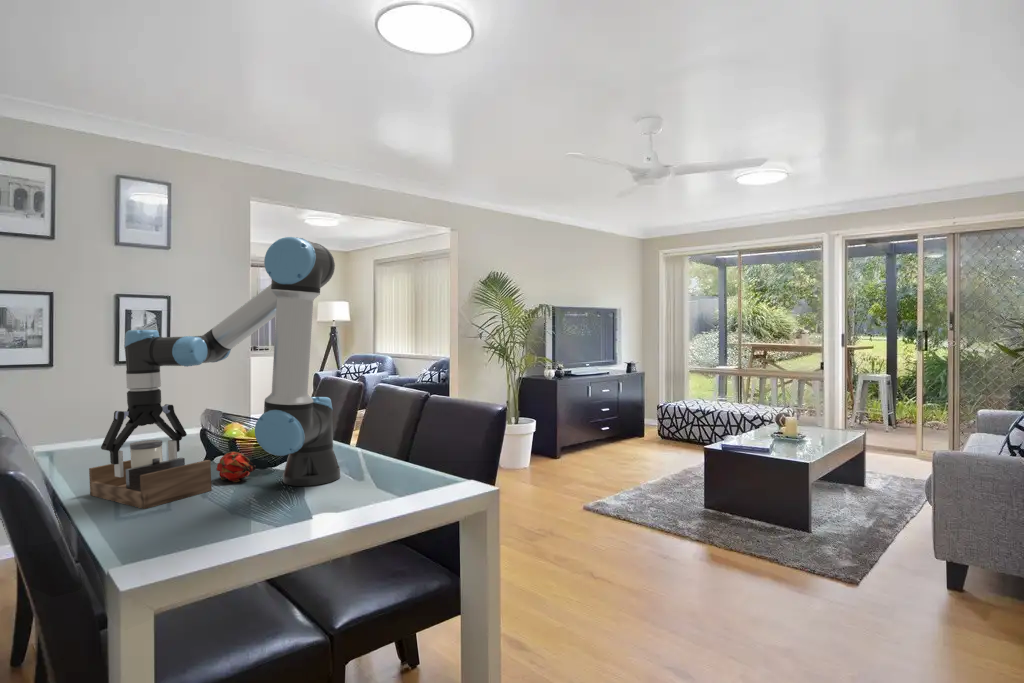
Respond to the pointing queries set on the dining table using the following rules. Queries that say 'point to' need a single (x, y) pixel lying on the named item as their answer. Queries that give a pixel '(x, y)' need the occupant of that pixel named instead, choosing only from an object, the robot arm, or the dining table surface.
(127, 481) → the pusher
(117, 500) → the wooden box
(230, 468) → the dragon fruit
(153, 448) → the jar
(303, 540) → the dining table surface
